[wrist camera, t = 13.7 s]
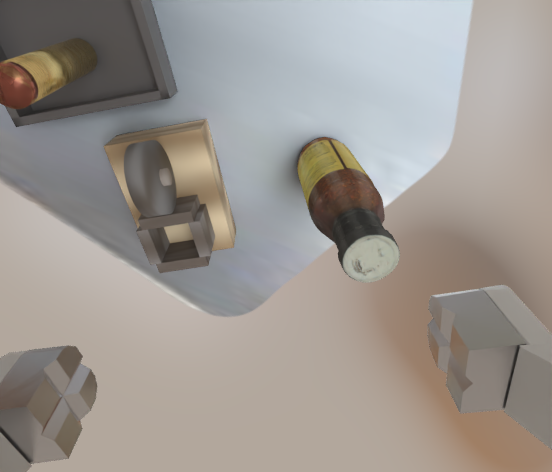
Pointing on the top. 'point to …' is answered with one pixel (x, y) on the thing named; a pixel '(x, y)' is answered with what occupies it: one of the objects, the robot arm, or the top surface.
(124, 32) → the tray
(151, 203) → the block
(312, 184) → the sauce bottle
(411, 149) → the top surface
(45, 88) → the pin
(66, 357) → the robot arm
